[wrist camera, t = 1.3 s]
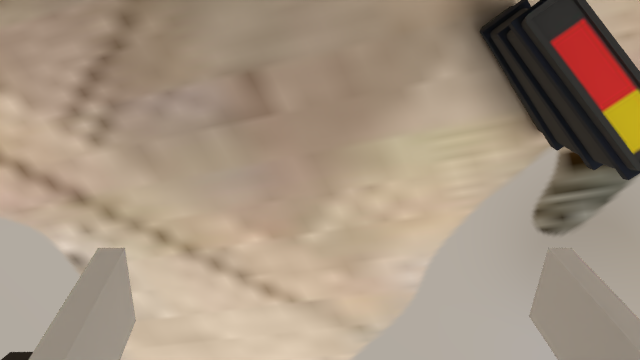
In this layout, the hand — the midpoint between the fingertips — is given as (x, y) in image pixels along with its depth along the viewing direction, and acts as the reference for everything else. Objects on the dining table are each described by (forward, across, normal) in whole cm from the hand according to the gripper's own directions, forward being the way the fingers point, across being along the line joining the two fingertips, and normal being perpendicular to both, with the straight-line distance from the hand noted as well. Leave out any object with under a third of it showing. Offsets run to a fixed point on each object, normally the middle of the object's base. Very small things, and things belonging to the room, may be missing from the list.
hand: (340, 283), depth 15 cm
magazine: (+26, +17, +2) cm, 31 cm away
